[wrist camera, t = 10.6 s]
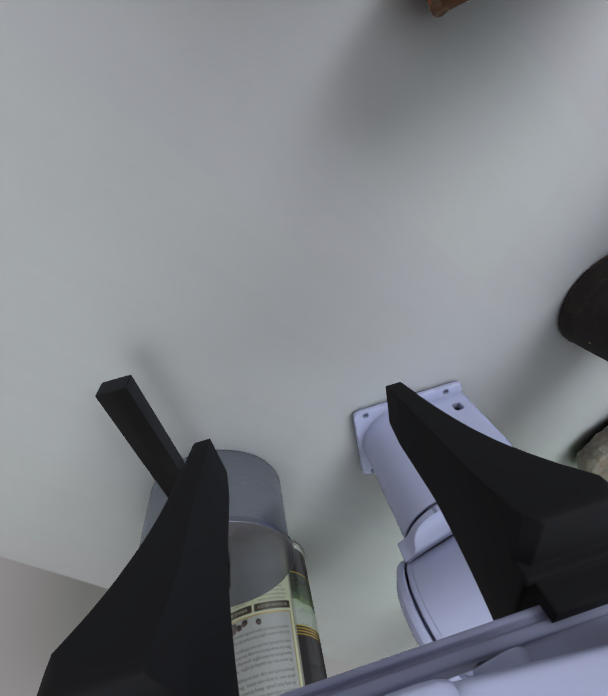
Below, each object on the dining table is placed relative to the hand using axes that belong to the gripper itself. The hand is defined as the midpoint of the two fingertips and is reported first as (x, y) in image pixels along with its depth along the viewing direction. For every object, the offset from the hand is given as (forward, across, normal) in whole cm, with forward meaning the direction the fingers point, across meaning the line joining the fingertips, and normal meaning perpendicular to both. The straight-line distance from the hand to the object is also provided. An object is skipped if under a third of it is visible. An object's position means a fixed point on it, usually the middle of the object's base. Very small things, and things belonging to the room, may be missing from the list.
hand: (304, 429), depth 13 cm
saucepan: (+10, +9, +10) cm, 17 cm away
